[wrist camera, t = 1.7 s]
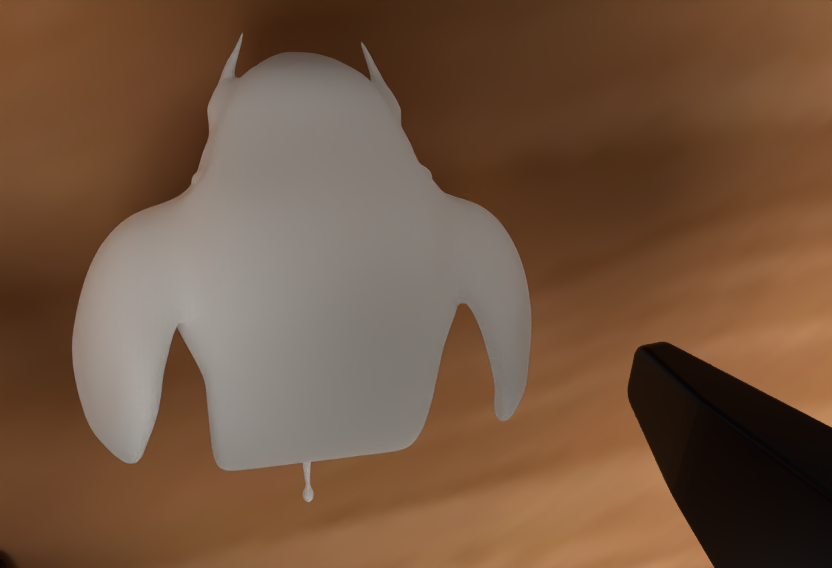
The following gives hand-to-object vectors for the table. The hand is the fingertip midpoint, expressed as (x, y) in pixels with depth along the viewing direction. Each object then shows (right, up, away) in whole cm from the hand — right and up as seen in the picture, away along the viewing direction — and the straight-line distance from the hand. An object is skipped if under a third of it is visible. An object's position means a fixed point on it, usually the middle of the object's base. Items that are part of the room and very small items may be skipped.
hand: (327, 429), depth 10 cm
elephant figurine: (-1, +3, +5) cm, 6 cm away
